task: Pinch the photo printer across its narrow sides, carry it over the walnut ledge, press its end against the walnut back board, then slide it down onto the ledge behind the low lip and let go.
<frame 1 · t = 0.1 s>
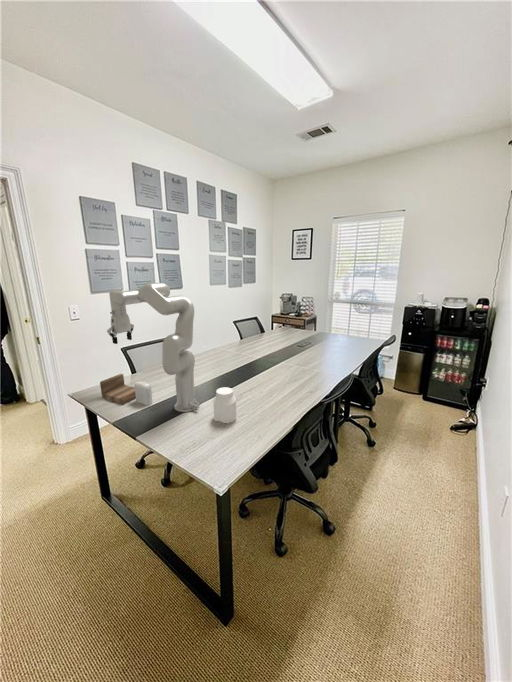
hand: (122, 341, 163), 31 cm above the table, fingers open, 9 cm apart
cleat board: (124, 396, 163), on the table
photo printer: (144, 402, 157), on the table
jar: (225, 418, 142), on the table
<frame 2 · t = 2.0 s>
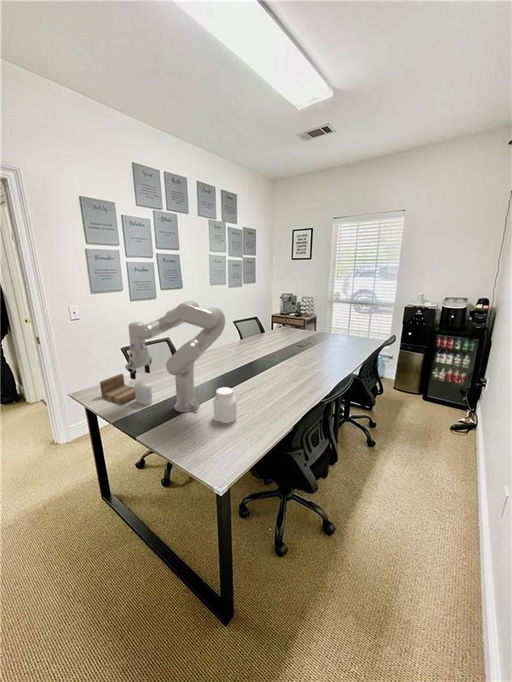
hand: (140, 375, 152), 16 cm above the table, fingers open, 9 cm apart
nothing on the table moved.
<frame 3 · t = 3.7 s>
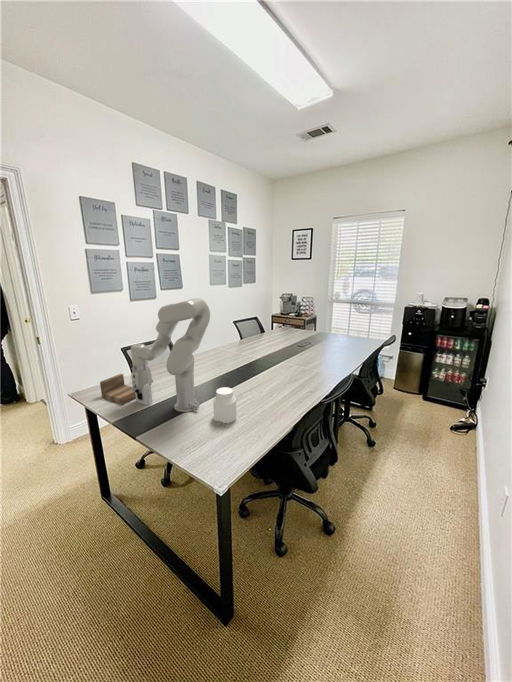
hand: (143, 397, 156), 3 cm above the table, fingers closed on photo printer, 4 cm apart
photo printer: (144, 402, 157), on the table, touching gripper
everything else where it was.
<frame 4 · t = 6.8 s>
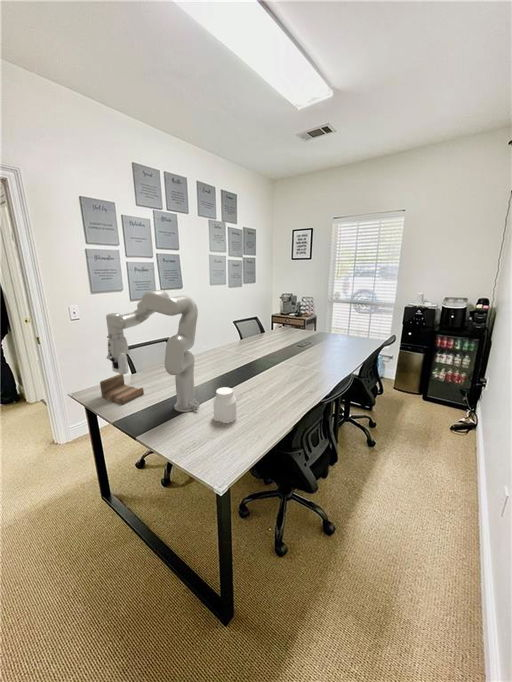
hand: (120, 366, 159), 19 cm above the table, fingers closed on photo printer, 4 cm apart
photo printer: (120, 372, 160), point 15 cm above the table, touching gripper
everything else where it was.
when the fingers open (7 cm above the table, at t = 9.8 s): photo printer stays where it is, resting on cleat board.
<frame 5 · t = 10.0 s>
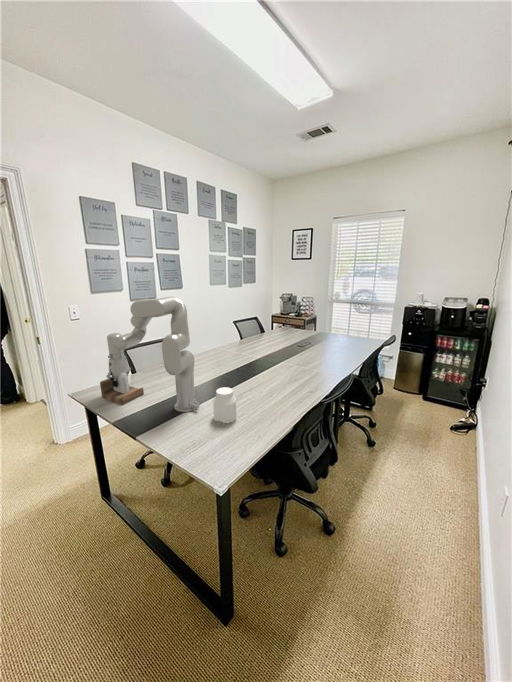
hand: (120, 384, 162), 7 cm above the table, fingers open, 6 cm apart
photo printer: (121, 391, 163), point 3 cm above the table, touching cleat board
everything else where it was.
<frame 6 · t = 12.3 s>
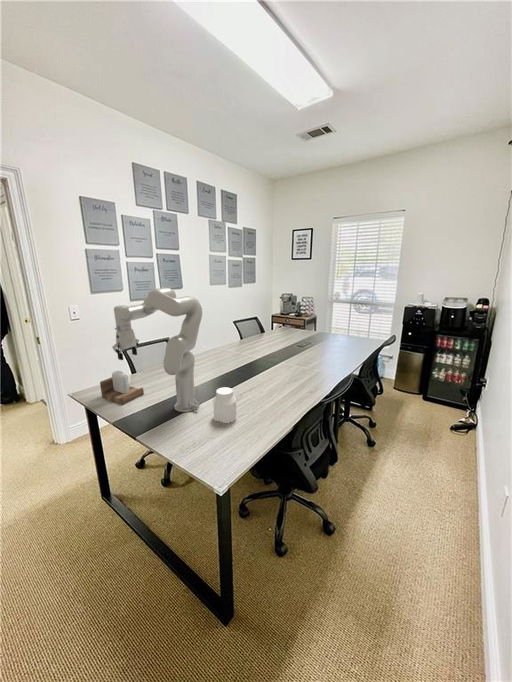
hand: (128, 357, 160), 23 cm above the table, fingers open, 9 cm apart
nothing on the table moved.
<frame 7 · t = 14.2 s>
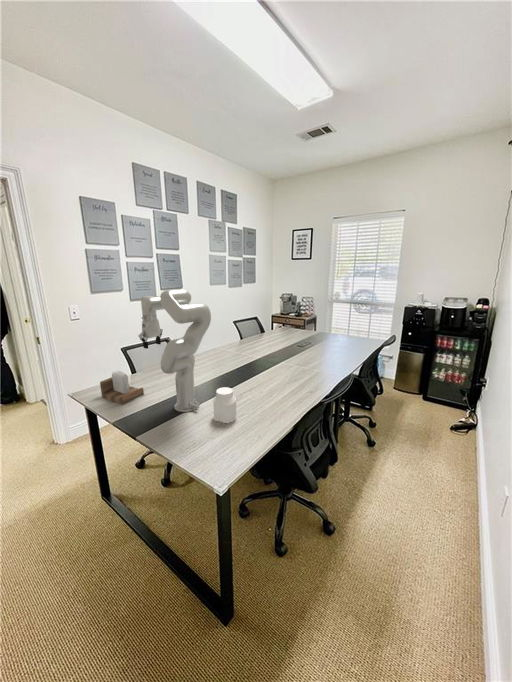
hand: (152, 346, 165), 28 cm above the table, fingers open, 9 cm apart
nothing on the table moved.
at the end: photo printer inside the target area (0.8 cm from its centre), point 2.8 cm above the table; photo printer tilted 0°; photo printer touching cleat board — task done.
